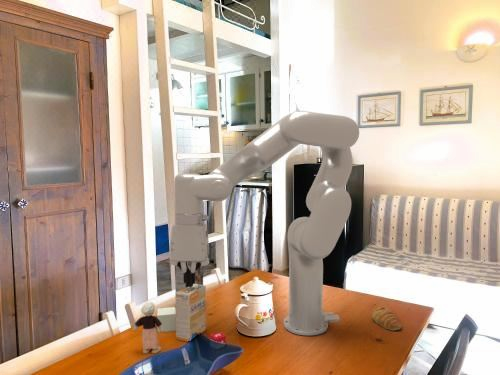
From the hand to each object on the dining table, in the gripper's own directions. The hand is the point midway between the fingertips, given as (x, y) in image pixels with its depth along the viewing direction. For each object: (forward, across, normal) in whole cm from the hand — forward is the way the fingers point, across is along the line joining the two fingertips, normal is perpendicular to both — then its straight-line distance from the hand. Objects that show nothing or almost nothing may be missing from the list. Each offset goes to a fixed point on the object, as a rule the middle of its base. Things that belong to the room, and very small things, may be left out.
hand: (189, 285), depth 102 cm
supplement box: (+14, 0, 0) cm, 14 cm away
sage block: (+14, +8, -4) cm, 17 cm away
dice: (+14, -8, +6) cm, 18 cm away
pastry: (+14, -57, -9) cm, 59 cm away
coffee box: (+14, +4, -18) cm, 23 cm away
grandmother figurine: (+14, +9, +9) cm, 19 cm away
